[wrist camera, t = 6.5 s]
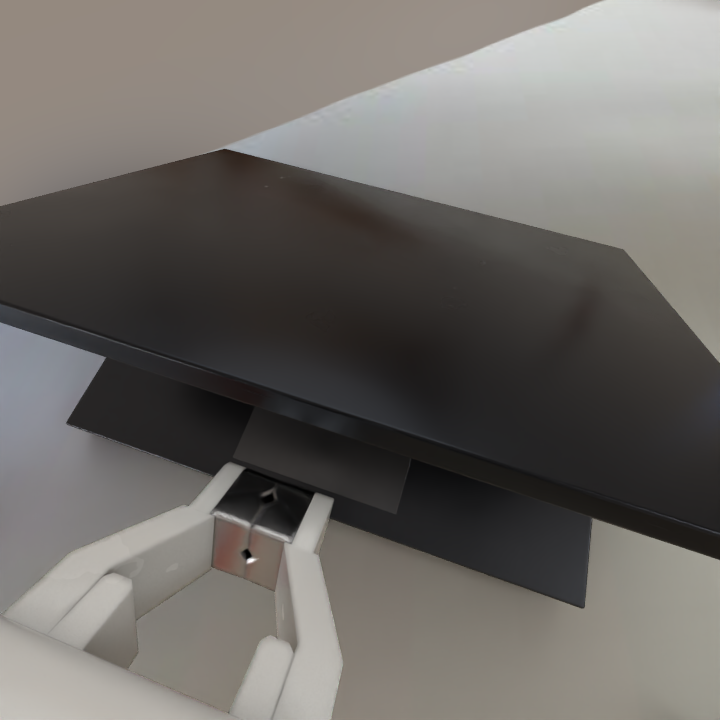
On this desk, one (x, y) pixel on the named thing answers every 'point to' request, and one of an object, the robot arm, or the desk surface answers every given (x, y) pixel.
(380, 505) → the laptop
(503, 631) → the desk surface
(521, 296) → the laptop screen
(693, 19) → the desk surface
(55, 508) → the desk surface
